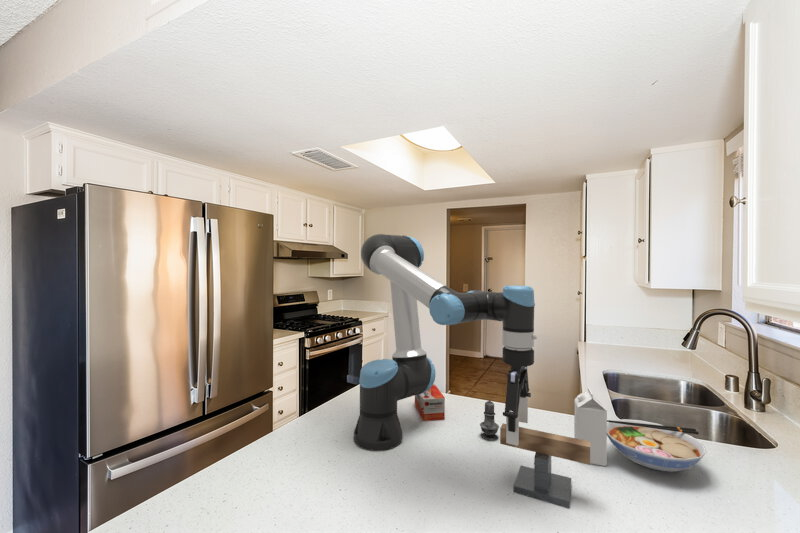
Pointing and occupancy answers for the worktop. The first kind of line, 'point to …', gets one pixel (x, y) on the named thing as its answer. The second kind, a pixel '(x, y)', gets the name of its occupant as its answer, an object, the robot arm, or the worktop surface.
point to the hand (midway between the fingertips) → (517, 432)
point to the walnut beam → (550, 444)
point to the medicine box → (431, 404)
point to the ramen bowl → (656, 444)
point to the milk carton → (591, 425)
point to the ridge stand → (543, 482)
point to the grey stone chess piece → (489, 423)
